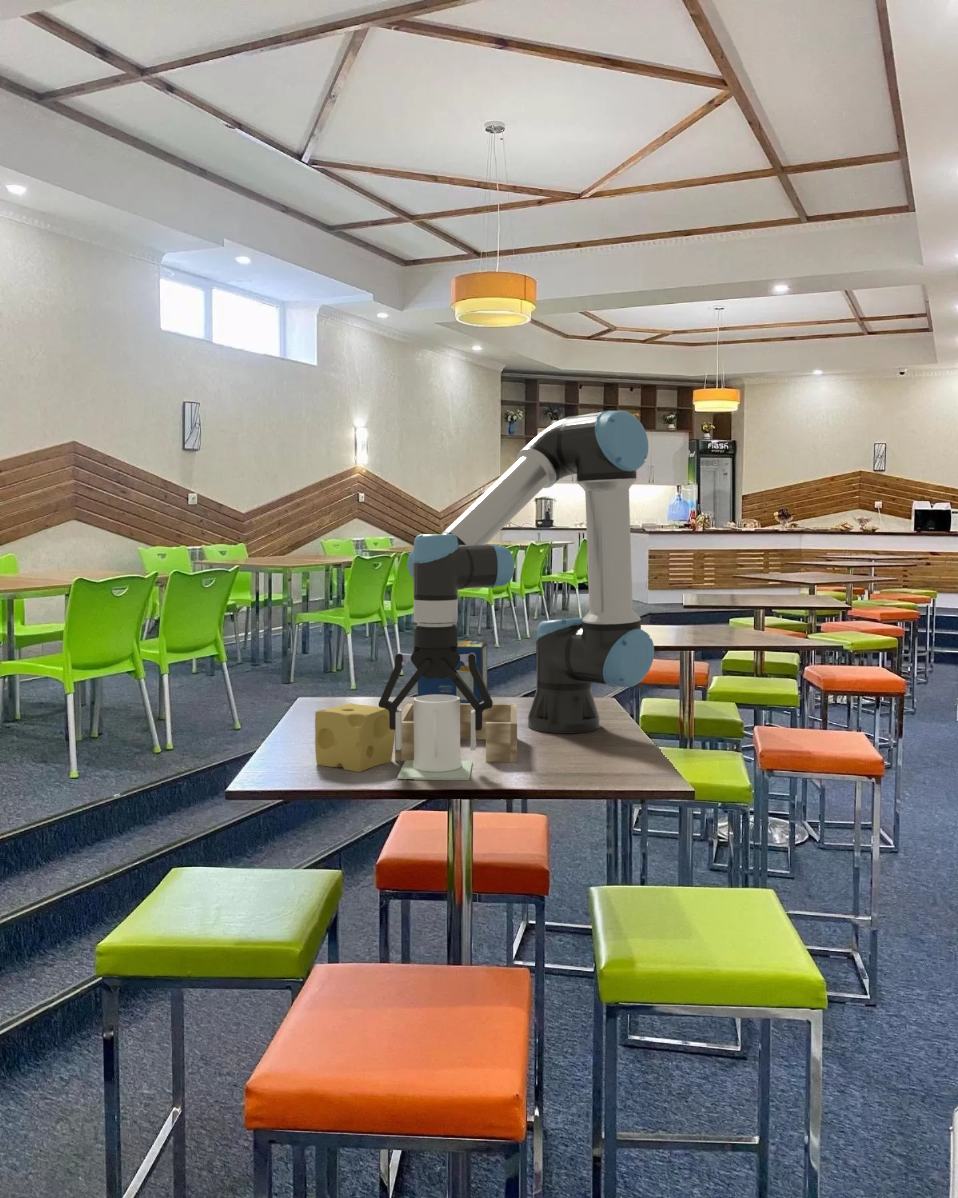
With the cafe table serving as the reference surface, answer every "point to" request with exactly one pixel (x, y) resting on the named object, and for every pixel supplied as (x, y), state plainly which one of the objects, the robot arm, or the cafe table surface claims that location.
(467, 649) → the protein box
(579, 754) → the cafe table surface
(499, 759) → the frame
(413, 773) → the mat
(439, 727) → the mug
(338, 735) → the cheese
